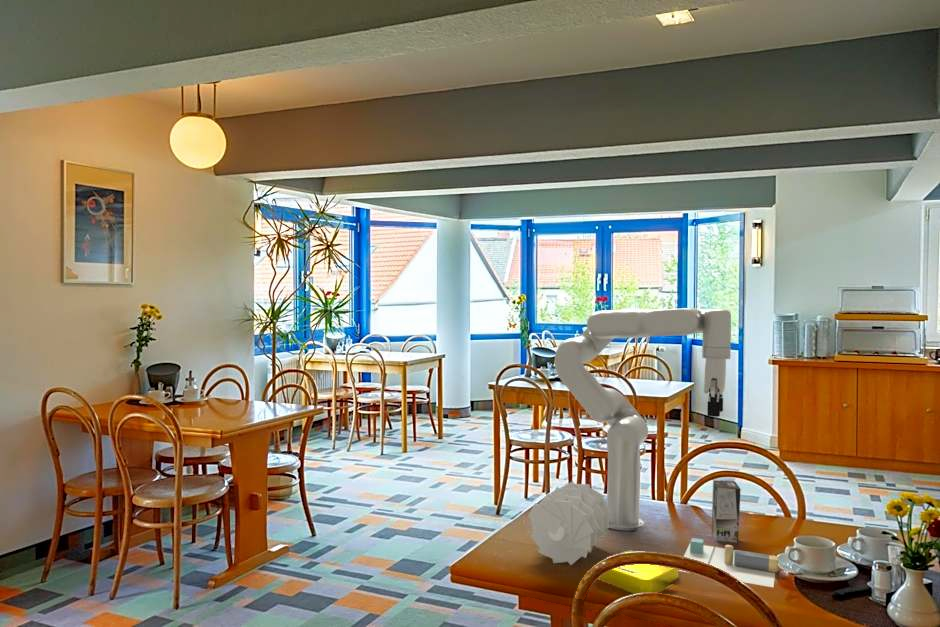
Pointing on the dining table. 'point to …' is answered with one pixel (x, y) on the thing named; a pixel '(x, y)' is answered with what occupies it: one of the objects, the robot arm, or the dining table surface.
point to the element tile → (641, 577)
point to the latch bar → (756, 561)
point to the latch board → (733, 568)
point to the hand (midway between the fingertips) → (715, 413)
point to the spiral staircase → (569, 522)
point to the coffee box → (725, 511)
